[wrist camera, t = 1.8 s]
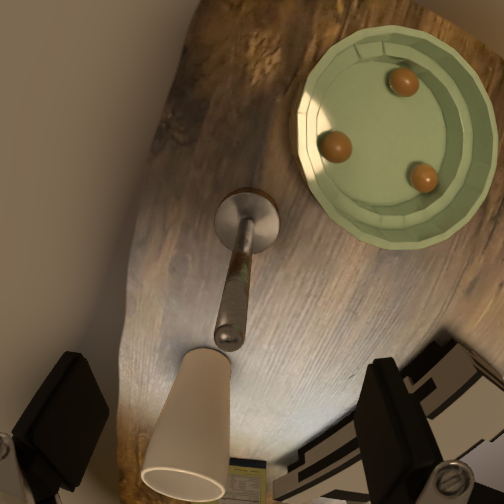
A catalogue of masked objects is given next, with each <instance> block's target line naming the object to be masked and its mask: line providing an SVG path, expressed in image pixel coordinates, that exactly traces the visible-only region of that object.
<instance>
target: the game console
mask: <svg viewBox="0 0 504 504" xmlns="http://www.w3.org/2000/svg"><path fill="white" fill-rule="evenodd" d="M400 374H401V376H402V379H403V381H404V383H405V385H406V388H407V390H408V392H409V393H414V394H415V395H416V396H417V397H418V399H419V401H420V404H421V406H422V408H423V411H424V413H425V415H426V418H427V420H428V422H429V425H430V427H431V430H432V432H433V434H434V437H435V439H436V442H437V444H438V447H439V449H440V452H441V454H442V457H443V460H444V461H446V460H459V459H461V458H462V457H463V456H465V455H466V454H468V453H469V452H470V451H472V450H473V449H474V448H476V447H477V446H478V445H479V444H481V443H482V442H483V441H485V440H487V441H490V442H493V441H495V440H496V439H497V438H498V437H499V436H501V435H502V434H503V433H504V380H503V379H502V377H501V376H500V374H499V373H498V372H497V371H495V370H494V369H493V368H492V367H491V366H490V365H489V364H487V363H486V362H485V361H484V360H483V359H482V358H480V357H479V356H478V355H477V354H476V353H475V352H473V351H472V350H470V351H467V350H466V349H465V348H464V347H463V346H461V345H460V344H459V343H458V342H456V341H455V340H454V339H453V338H451V339H450V340H449V341H448V342H447V343H446V344H445V345H444V346H443V347H442V346H441V345H440V344H438V343H437V342H435V341H434V340H433V341H432V342H431V343H430V344H429V345H428V346H427V347H426V348H425V349H424V350H423V351H422V352H421V353H420V354H419V355H418V356H417V357H416V358H415V359H414V360H413V361H412V362H411V363H410V364H409V365H407V366H406V367H405V368H404V369H403V370H402V371H401V372H400ZM355 411H356V410H354V411H353V412H352V413H350V414H349V415H348V416H347V417H345V418H344V419H343V420H341V421H340V422H338V423H337V424H336V425H334V426H333V427H332V428H330V429H329V430H327V431H326V432H325V433H323V434H322V435H320V436H319V437H317V438H316V439H314V440H313V441H311V442H310V443H308V444H307V445H305V446H304V447H302V448H301V449H299V450H298V461H296V462H295V463H293V464H291V465H289V466H288V474H286V475H284V476H282V477H280V478H279V479H277V480H275V481H273V500H276V501H281V502H286V503H291V504H305V503H307V502H309V501H312V500H314V499H316V498H318V497H326V498H332V499H340V500H346V502H347V504H371V502H370V497H369V492H368V487H367V482H366V477H365V472H364V468H363V463H362V458H361V454H360V449H359V445H358V440H357V436H356V431H355V427H354V414H355Z"/></svg>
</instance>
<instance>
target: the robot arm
mask: <svg viewBox="0 0 504 504" xmlns="http://www.w3.org/2000/svg"><path fill="white" fill-rule="evenodd" d="M108 416H109V408H108V405H107V403H106V402H105V399H104V397H103V395H102V393H101V391H100V389H99V386H98V385H97V382H96V380H95V378H94V375H93V373H92V371H91V368H90V366H89V364H88V361H87V359H86V358H84V357H83V355H82V354H81V353H76V352H69V351H66V352H65V353H64V354H63V355H62V356H61V358H60V359H59V361H58V362H57V364H56V365H55V366H54V368H53V369H52V371H51V372H50V373H49V375H48V376H47V378H46V379H45V381H44V382H43V384H42V385H41V387H40V388H39V390H38V391H37V392H36V394H35V395H34V397H33V399H32V400H31V402H30V403H29V405H28V406H27V408H26V409H25V411H24V413H23V414H22V416H21V417H20V419H19V421H18V422H17V423H16V425H15V427H14V428H13V430H12V434H13V437H12V438H11V437H10V436H9V435H8V434H6V433H1V432H0V504H62V502H61V499H60V496H59V493H58V491H59V488H60V487H61V488H62V489H65V490H68V491H71V492H74V490H75V487H78V486H79V485H80V483H81V480H82V478H83V476H84V473H85V471H86V468H87V466H88V463H89V461H90V458H91V456H92V454H93V451H94V449H95V447H96V444H97V442H98V439H99V437H100V435H101V433H102V430H103V428H104V426H105V423H106V421H107V419H108ZM354 427H355V431H356V436H357V440H358V445H359V449H360V454H361V458H362V463H363V468H364V472H365V477H366V482H367V487H368V492H369V497H370V502H371V504H504V493H503V492H501V491H498V490H495V489H492V488H490V487H487V486H485V485H482V484H479V483H476V482H474V480H475V479H474V474H473V471H472V470H471V468H470V467H469V466H468V465H467V464H466V463H464V462H462V461H459V460H446V461H444V460H443V457H442V454H441V452H440V449H439V447H438V444H437V442H436V439H435V437H434V434H433V432H432V430H431V427H430V425H429V422H428V420H427V418H426V415H425V413H424V411H423V408H422V406H421V404H420V401H419V399H418V397H417V396H416V395H415V394H414V393H409V392H408V390H407V388H406V385H405V383H404V381H403V379H402V376H401V374H400V372H399V370H398V368H397V365H396V363H395V361H394V359H393V358H392V357H388V358H379V359H374V361H373V364H369V365H368V367H367V371H366V375H365V378H364V382H363V386H362V390H361V393H360V397H359V400H358V404H357V407H356V411H355V414H354Z"/></svg>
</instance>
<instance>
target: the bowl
mask: <svg viewBox="0 0 504 504" xmlns="http://www.w3.org/2000/svg"><path fill="white" fill-rule="evenodd" d="M401 67H403V68H408V69H410V70H412V71H413V72H414V73H415V74H416V75H417V77H418V80H419V89H418V91H417V92H416V94H414V95H413V96H411V97H401V96H399V95H397V94H396V93H395V92H394V91H393V90H392V89H391V87H390V84H389V77H390V74H391V73H392V71H393V70H395V69H397V68H401ZM333 131H338V132H342V133H344V134H345V135H347V136H348V137H349V139H350V140H351V142H352V147H353V149H352V154H351V156H350V157H349V159H348V160H346V161H345V162H343V163H337V164H336V163H331V162H329V161H327V160H326V159H325V158H324V157H323V155H322V153H321V151H320V143H321V140H322V138H323V137H324V136H325V135H326V134H327V133H329V132H333ZM290 145H291V149H292V152H293V155H294V158H295V161H296V164H297V167H298V170H299V173H300V175H301V177H302V178H303V180H304V181H305V183H306V185H307V186H308V188H309V189H310V191H311V192H312V193H313V195H314V196H315V198H316V199H317V200H318V202H319V203H320V205H321V206H322V207H323V209H324V210H325V212H326V213H327V215H328V216H329V217H330V219H331V220H332V221H334V222H335V223H336V224H338V225H339V226H340V227H342V228H343V229H344V230H346V231H347V232H348V233H350V234H351V235H352V236H354V237H355V238H356V239H358V240H359V241H362V242H365V243H368V244H371V245H375V246H378V247H381V248H384V249H387V250H418V249H422V248H425V247H428V246H430V245H433V244H436V243H438V242H441V241H444V240H446V239H448V238H449V237H450V236H451V235H453V234H454V233H455V232H457V231H458V230H459V229H460V228H462V227H463V226H464V225H465V224H467V223H468V222H469V221H470V220H471V218H472V217H473V216H474V214H475V213H476V211H477V210H478V208H479V207H480V206H481V204H482V203H483V201H484V200H485V198H486V196H487V194H488V191H489V188H490V185H491V182H492V180H493V177H494V173H495V170H496V166H497V153H498V131H497V126H496V121H495V116H494V111H493V106H492V103H491V101H490V99H489V97H488V95H487V92H486V90H485V88H484V86H483V84H482V82H481V81H480V79H479V77H478V75H477V73H476V72H475V71H474V70H473V69H472V68H471V66H470V65H469V64H468V63H467V62H466V61H465V60H464V59H463V58H462V56H461V55H460V54H459V53H458V52H457V51H456V50H454V49H453V48H452V47H450V46H449V45H447V44H445V43H444V42H442V41H441V40H439V39H437V38H436V37H434V36H432V35H430V34H429V33H427V32H424V31H420V30H415V29H411V28H406V27H402V26H397V25H388V26H380V27H373V28H367V29H361V30H358V31H357V32H355V33H353V34H351V35H350V36H348V37H346V38H344V39H343V40H341V41H339V42H338V43H336V44H334V45H333V46H331V47H330V48H329V49H328V50H327V51H326V52H325V53H324V54H323V55H322V57H321V58H320V59H319V60H318V61H317V62H316V63H315V64H314V66H313V67H312V68H311V70H310V71H309V72H308V74H307V75H306V76H305V77H304V79H303V80H302V81H301V83H300V84H299V86H298V89H297V92H296V95H295V98H294V102H293V105H292V108H291V111H290ZM420 163H426V164H429V165H431V166H432V167H433V168H434V169H435V170H436V172H437V175H438V183H437V186H436V187H435V189H434V190H432V191H431V192H428V193H421V192H419V191H417V190H416V189H415V188H414V187H413V186H412V184H411V181H410V173H411V171H412V169H413V168H414V166H416V165H417V164H420Z"/></svg>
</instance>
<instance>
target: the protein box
mask: <svg viewBox="0 0 504 504" xmlns="http://www.w3.org/2000/svg"><path fill="white" fill-rule="evenodd" d="M191 504H266V462H264V461H251V460H240V459H231V458H230V461H229V471H228V478H227V484H226V490H225V494H224V495H223V496H222V497H221V498H219V499H217V500H213V501H207V502H193V501H191Z"/></svg>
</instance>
